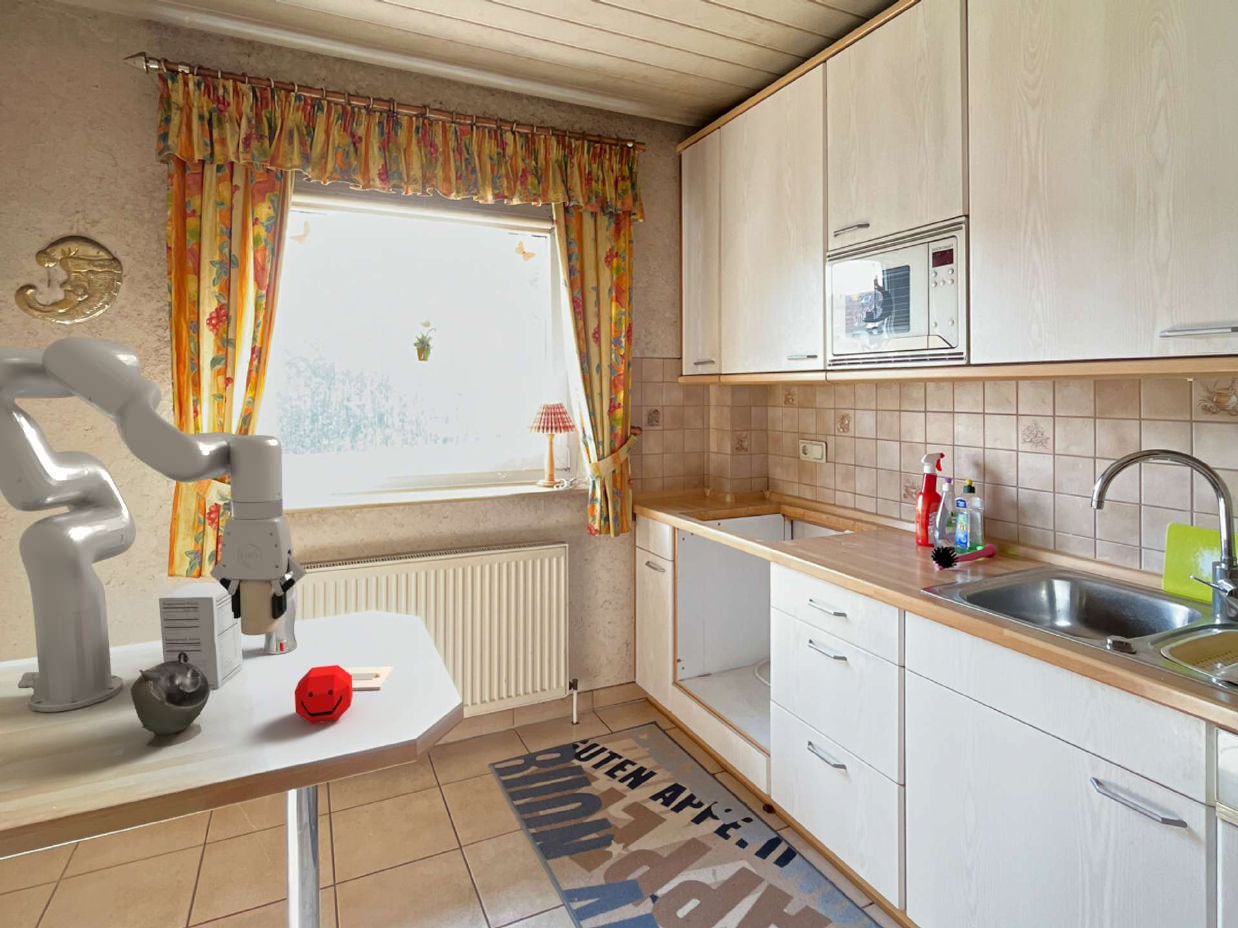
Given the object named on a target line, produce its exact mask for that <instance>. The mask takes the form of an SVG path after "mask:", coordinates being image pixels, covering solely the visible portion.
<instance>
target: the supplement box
mask: <svg viewBox="0 0 1238 928" xmlns="http://www.w3.org/2000/svg"><path fill="white" fill-rule="evenodd" d="M158 604H159V615H160V616H159V617H160V630H161V631H160V632H161V642H162V643H161V644H162V655H163V658H162V659H163V663H164V662H168V661H173V660H178V655H179V653H181V652H183V653H186V655H187V656H188V658H189V660H188V661H187V662H188V663H190V664H192V665H194V666H196V667H197V668H198V669H200V670H201V671H202V672H203V673H204V675H205V676H206V677H207V679H208V682H209V685H210V690H219V689H220V688H222V687H223V685H225V684H226V683H227V682H228V681H230V680H231V679H232V678H233V677H234V676H235V675H236V674H238V673H239V672H240V671H241V670H242V669H243V668H244V664H243V663H244V662H243V660H244V659H243V648H242V647H243V646H242V645H243V644H242V643H243V642H242V632H241V617H240V618H238V619H234V612H232V607H231V595H229V594H228V591H227V590H226V589H225V588H224V587H223V586H222V585H221V584H220V582H189V583H187V584H184V585H183V586H180V587H179V588H176V589H175V590H173V591H171V592H169V593H167V594H164V595H163V596H161V597H159V599H158Z"/></svg>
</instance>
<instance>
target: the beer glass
mask: <svg viewBox="0 0 1238 928" xmlns="http://www.w3.org/2000/svg"><path fill="white" fill-rule="evenodd" d="M292 576H293V572H292V573H291V572H290V573H287V574H285V577H286V579H287V580H288V579H289V578H290V577H292ZM297 604H298V590H297V582H296V583H295V584H294V585H293V586H292V587H291V588H290V589H289V590H288V591H287V609H286V612H285V613H284V614H283V615H282V616H281V617H280V618H278V628H277V630H275V631H273V632H271V633H268V634H264V635H265V636H264V643H263V652H264V653H265V654H267V655H281V654H285V653H289V652H293V651H294V650H295V649H297V647H298V643H297V639H296V634H295V622H296V615H297V608H298V605H297Z"/></svg>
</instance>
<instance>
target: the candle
mask: <svg viewBox="0 0 1238 928" xmlns="http://www.w3.org/2000/svg"><path fill="white" fill-rule="evenodd" d="M274 595H275V591H274V588H273V586H272V583H271V581H257V580H241V582H240V606H241V617H240V627H241V634H243V635H246V636H262V635H263V636H264V635H265V634H268V633H271V632H273V631H275V630H277V628H278V619H273V618H272V597H273V596H274Z"/></svg>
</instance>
